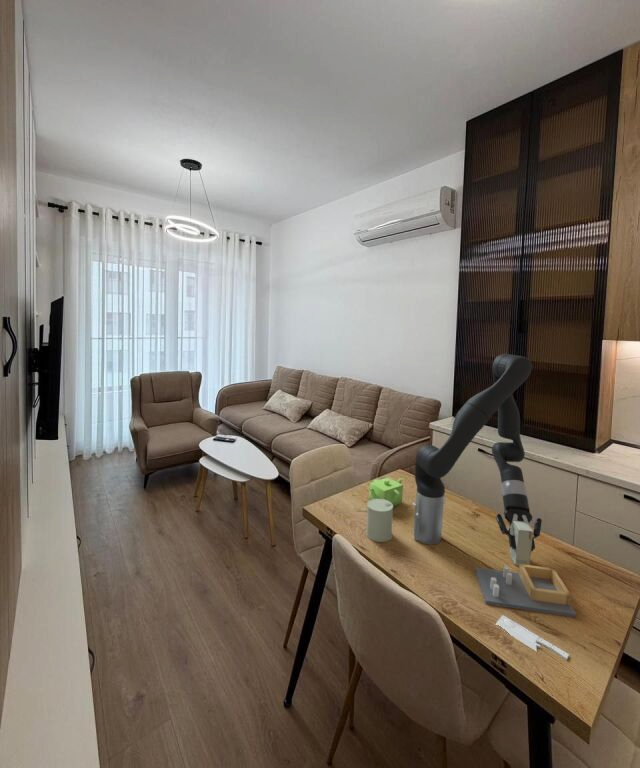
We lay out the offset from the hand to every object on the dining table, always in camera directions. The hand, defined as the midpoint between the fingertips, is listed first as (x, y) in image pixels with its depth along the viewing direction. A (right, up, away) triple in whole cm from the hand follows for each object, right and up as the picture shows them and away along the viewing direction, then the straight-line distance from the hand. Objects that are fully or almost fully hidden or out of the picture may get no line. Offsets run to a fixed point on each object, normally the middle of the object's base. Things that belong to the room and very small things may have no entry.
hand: (522, 549), depth 116 cm
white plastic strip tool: (-13, -10, -27) cm, 32 cm away
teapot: (-37, +2, +38) cm, 53 cm away
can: (-43, -2, +16) cm, 46 cm away
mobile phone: (-17, +2, +41) cm, 44 cm away
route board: (-7, -7, -11) cm, 15 cm away
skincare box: (0, -5, +3) cm, 6 cm away
